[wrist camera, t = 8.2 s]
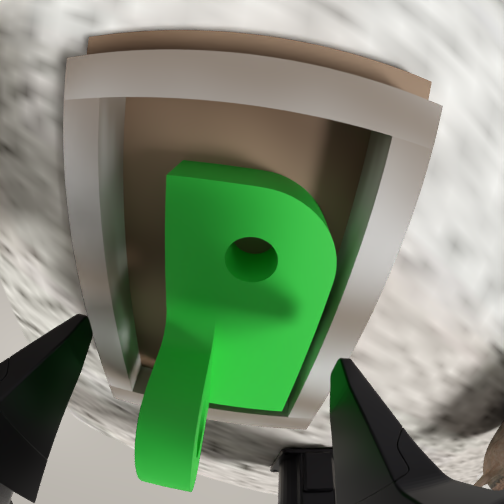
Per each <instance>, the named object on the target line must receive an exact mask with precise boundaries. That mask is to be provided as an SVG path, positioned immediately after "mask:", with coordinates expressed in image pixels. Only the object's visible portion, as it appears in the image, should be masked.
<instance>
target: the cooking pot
mask: <svg viewBox="0 0 504 504" xmlns="http://www.w3.org/2000/svg"><path fill="white" fill-rule="evenodd" d="M485 484H488V485H489V487H490V488H491V489H492V490H503V489H504V421H503V422H502V424H501V425H500V427H499V429H498V430H497V432H496V433H495V435H494V436H493V438H492V440H491V442H490V444H489V446H488V448H487V451H486V454H485V457H484V463H483V476H482V477H481V478H480V479H479V480H478V481H477V482H476V483H475V484H474V486H478V487H482V486H483V485H485Z"/></svg>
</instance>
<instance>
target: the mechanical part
mask: <svg viewBox="0 0 504 504" xmlns="http://www.w3.org/2000/svg"><path fill="white" fill-rule="evenodd" d="M244 237H256V238H260V239H263V240H265V241H267V242H268V243H269V244H271V245H272V247H271V248H270V249H269V250H267V251H266V252H263V253H259V254H251V253H247V252H244V251H242V250H241V249H239V248H238V247H237V246H236V245H235V243H234V242H235V241H236V240H238V239H241V238H244ZM336 268H337V257H336V250H335V246H334V242H333V239H332V237H331V234H330V231H329V229H328V226H327V223H326V221H325V218H324V215H323V213H322V211H321V209H320V207H319V205H318V204H317V202H316V201H315V199H314V198H313V197H312V196H311V195H310V194H309V193H308V192H307V191H306V190H305V189H304V188H303V187H302V186H300V185H299V184H298V183H296V182H294V181H293V180H291V179H289V178H287V177H285V176H282V175H280V174H277V173H274V172H269V171H264V170H258V169H251V168H244V167H237V166H230V165H222V164H214V163H205V162H197V161H187V160H183V161H182V162H180V163H179V164H178V165H177V166H176V167H175V168H174V169H172V170H171V171H170V172H169V173H168V174H167V175H166V201H165V279H166V307H167V313H166V325H165V331H164V336H163V340H162V344H161V347H160V350H159V353H158V355H157V358H156V361H155V364H154V367H153V370H152V372H151V375H150V378H149V381H148V384H147V387H146V390H145V393H144V396H143V400H142V404H141V408H140V412H139V417H138V423H137V429H136V438H135V467H136V472H137V475H138V478H139V479H140V480H141V481H145V482H149V483H153V484H156V485H161V486H165V487H169V488H174V489H179V490H184V491H189V492H192V490H193V487H194V483H195V480H196V475H197V470H198V465H199V459H200V453H201V448H202V442H203V436H204V430H205V424H206V418H207V413H208V407H209V403H214V404H220V405H227V406H234V407H242V408H250V409H260V410H270V411H282V410H283V408H284V406H285V404H286V401H287V399H288V397H289V395H290V392H291V390H292V388H293V385H294V383H295V381H296V378H297V376H298V374H299V371H300V369H301V367H302V364H303V362H304V359H305V357H306V354H307V352H308V349H309V347H310V344H311V342H312V339H313V337H314V334H315V331H316V329H317V326H318V324H319V321H320V318H321V316H322V313H323V310H324V307H325V305H326V302H327V299H328V296H329V294H330V291H331V288H332V285H333V282H334V278H335V275H336Z"/></svg>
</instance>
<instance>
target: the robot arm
mask: <svg viewBox="0 0 504 504" xmlns="http://www.w3.org/2000/svg"><path fill="white" fill-rule="evenodd" d="M92 336H93V332H92V328H91V324H90V320H89V318H88V316H86V315H82V314H77V315H75V316H73V317H72V318H70V319H68V320H67V321H65V322H64V323H62V324H60V325H59V326H57V327H56V328H54V329H53V330H51V331H49V332H48V333H46V334H45V335H43V336H41V337H40V338H38V339H37V340H35V341H34V342H32V343H31V344H29V345H27V346H26V347H24V348H23V349H21V350H20V351H18V352H17V353H15V354H14V355H12V356H11V357H10V358H7V359H6V360H5V361H3V362H1V363H0V504H13V503H12V501H11V497H12V494H13V492H15V493H17V494H19V495H20V496H22V497H24V498H26V499H28V500H30V501H31V502H33V503H35V500H36V497H37V493H38V490H39V486H40V483H41V479H42V476H43V473H44V470H45V466H46V463H47V459H48V457H49V454H50V451H51V448H52V445H53V442H54V439H55V436H56V433H57V430H58V428H59V425H60V422H61V420H62V417H63V415H64V412H65V409H66V407H67V404H68V402H69V399H70V397H71V394H72V392H73V390H74V387H75V385H76V382H77V380H78V378H79V375H80V373H81V370H82V367H83V364H84V361H85V358H86V355H87V352H88V349H89V346H90V343H91V340H92ZM330 422H331V433H332V445H333V449H283V450H282V451H281V452H280V454H279V455H278V457H277V458H276V460H275V461H274V463H273V464H272V466H271V469H270V471H271V472H279V490H278V504H504V489H503V490H490V489H486V488H482V487H478V486H474V485H470V484H467V483H463V482H459V481H456V480H453V479H451V478H450V477H448V476H447V475H445V474H444V473H443V472H442V471H441V470H440V469H439V468H438V467H437V466H436V465H435V464H434V463H433V462H432V461H431V460H430V459H429V457H428V456H427V455H426V454H425V453H424V452H423V451H422V450H421V449H420V448H419V447H418V445H417V444H416V443H415V442H414V441H413V439H412V438H411V437H410V436H409V434H408V433H407V432H406V430H405V429H404V428H402V425H401V424H400V423H399V421H398V420H397V419H396V417H395V416H394V415H393V413H392V412H391V411H390V410H389V408H388V407H387V406H386V404H385V403H384V402H383V400H382V399H381V398H380V396H379V395H378V394H377V393H376V391H375V390H374V389H373V387H372V386H371V385H370V383H369V382H368V381H367V379H366V378H365V377H364V376H363V374H362V373H361V372H360V370H359V369H358V368H357V367H356V365H355V364H354V363H353V361H352V360H351V359H349V358H339V359H338V360H337V362H336V364H335V366H334V368H333V370H332V372H331V376H330Z"/></svg>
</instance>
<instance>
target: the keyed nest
mask: <svg viewBox="0 0 504 504" xmlns="http://www.w3.org/2000/svg"><path fill="white" fill-rule="evenodd" d="M430 88H431V81H428V80H426V79H424V78H421V77H419V76H416V75H414V74H411V73H409V72H406V71H404V70H401V69H398V68H395V67H393V66H390V65H387V64H384V63H381V62H378V61H375V60H372V59H368V58H365V57H362V56H358V55H355V54H351V53H348V52H344V51H340V50H336V49H332V48H328V47H324V46H319V45H315V44H310V43H305V42H300V41H295V40H289V39H283V38H277V37H270V36H263V35H255V34H246V33H236V32H223V31H203V30H158V31H139V32H127V33H117V34H108V35H100V36H93V37H89V41H88V48H87V55H82V56H75V57H69V58H67V62H66V72H65V85H64V106H63V150H64V172H65V186H66V197H67V207H68V215H69V223H70V230H71V237H72V244H73V250H74V256H75V261H76V266H77V272H78V277H79V281H80V286H81V290H82V295H83V299H84V303H85V307H86V311H87V315H88V318H89V320H90V324H91V328H92V332H93V337H94V340H95V344H96V347H97V350H98V353H99V357H100V360H101V363H102V366H103V369H104V372H105V375H106V377H107V380H108V383H109V386H110V388H111V391H112V394H113V396H114V398H116V399H119V400H123V401H126V402H130V403H134V404H137V405H141V404H142V400H143V396H144V393H145V390H146V387H147V384H148V381H149V378H150V375H151V372H152V370H153V367H154V364H155V361H156V358H157V355H158V353H159V350H160V347H161V344H162V340H163V336H164V331H165V325H166V313H167V307H166V279H165V201H166V175H167V174H168V173H169V172H170V171H171V170H172V169H174V168H175V167H176V166H177V165H178V164H179V163H180V162H182V161H183V160H187V161H197V162H205V163H214V164H222V165H230V166H237V167H244V168H251V169H258V170H264V171H269V172H274V173H277V174H280V175H282V176H285V177H287V178H289V179H291V180H293V181H294V182H296V183H298V184H299V185H300V186H302V187H303V188H304V189H305V190H306V191H307V192H308V193H309V194H310V195H311V196H312V197H313V198H314V199H315V201H316V202H317V204H318V205H319V207H320V209H321V211H322V213H323V215H324V218H325V221H326V223H327V226H328V229H329V231H330V234H331V237H332V239H333V242H334V246H335V250H336V257H337V268H336V275H335V278H334V282H333V285H332V288H331V291H330V294H329V296H328V299H327V302H326V305H325V307H324V310H323V313H322V316H321V318H320V321H319V324H318V326H317V329H316V331H315V334H314V337H313V339H312V342H311V344H310V347H309V349H308V352H307V354H306V357H305V359H304V362H303V364H302V367H301V369H300V371H299V374H298V376H297V378H296V381H295V383H294V385H293V388H292V390H291V392H290V395H289V397H288V399H287V401H286V404H285V406H284V408H283V410H282V411H270V410H260V409H250V408H242V407H234V406H227V405H220V404H214V403H209V407H208V413H207V418H206V419H207V420H214V421H220V422H227V423H235V424H243V425H251V426H261V427H273V428H287V429H307V427H308V426H309V424H310V423H311V421H312V420H313V418H314V417H315V415H316V413H317V412H318V410H319V409H320V407H321V406H322V404H323V402H324V401H325V399H326V397H327V396H328V394H329V392H330V376H331V372H332V370H333V368H334V366H335V364H336V362H337V360H338V359H339V358H349V357H350V355H351V354H352V352H353V350H354V348H355V346H356V344H357V342H358V340H359V338H360V336H361V334H362V332H363V330H364V328H365V326H366V324H367V322H368V320H369V318H370V316H371V314H372V312H373V310H374V308H375V306H376V304H377V301H378V299H379V297H380V295H381V293H382V290H383V288H384V286H385V284H386V281H387V279H388V277H389V274H390V272H391V270H392V267H393V265H394V262H395V260H396V257H397V255H398V252H399V250H400V247H401V245H402V242H403V239H404V237H405V234H406V231H407V229H408V226H409V223H410V220H411V218H412V215H413V212H414V209H415V206H416V203H417V200H418V197H419V194H420V191H421V188H422V184H423V181H424V178H425V174H426V171H427V168H428V164H429V160H430V157H431V153H432V149H433V146H434V142H435V138H436V134H437V129H438V125H439V121H440V116H441V112H442V107H443V106H441V105H439V104H437V103H434V102H432V101H429V100H428V98H429V93H430ZM234 243H235V245H236V246H237V247H238V248H239V249H241V250H242V251H244V252H247V253H251V254H259V253H263V252H266V251H267V250H269V249H270V248H271V247H272V245H271V244H269V243H268V242H267V241H265V240H263V239H260V238H256V237H244V238H241V239H238V240H236V241H235V242H234Z"/></svg>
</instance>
